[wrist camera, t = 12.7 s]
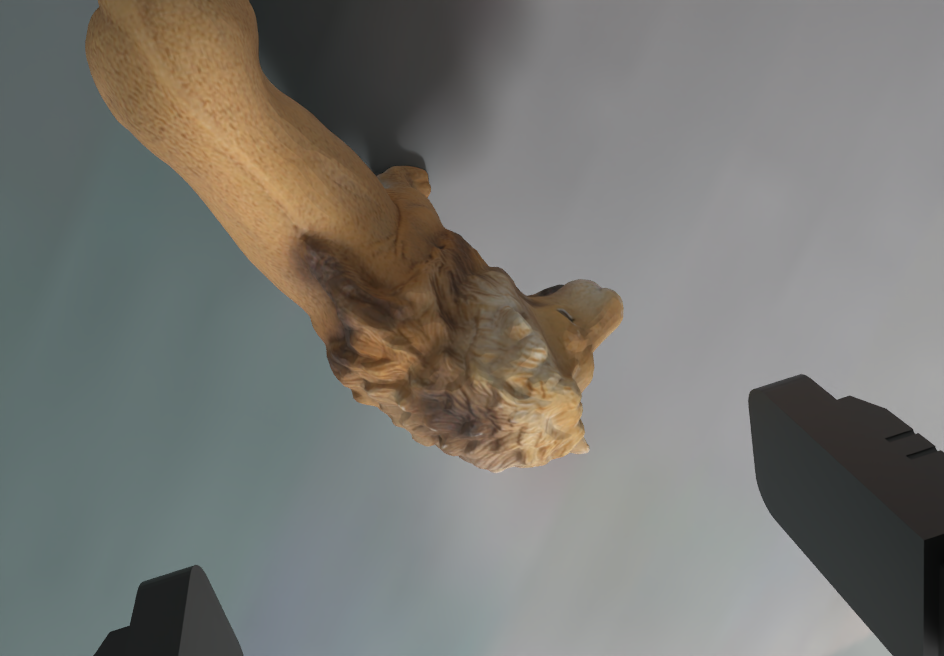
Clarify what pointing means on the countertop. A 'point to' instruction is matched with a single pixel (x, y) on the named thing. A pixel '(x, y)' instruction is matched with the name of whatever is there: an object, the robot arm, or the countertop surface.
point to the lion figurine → (354, 242)
